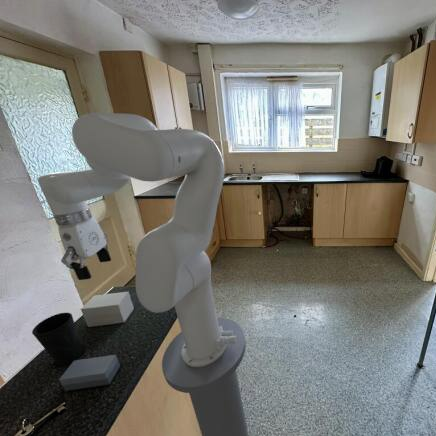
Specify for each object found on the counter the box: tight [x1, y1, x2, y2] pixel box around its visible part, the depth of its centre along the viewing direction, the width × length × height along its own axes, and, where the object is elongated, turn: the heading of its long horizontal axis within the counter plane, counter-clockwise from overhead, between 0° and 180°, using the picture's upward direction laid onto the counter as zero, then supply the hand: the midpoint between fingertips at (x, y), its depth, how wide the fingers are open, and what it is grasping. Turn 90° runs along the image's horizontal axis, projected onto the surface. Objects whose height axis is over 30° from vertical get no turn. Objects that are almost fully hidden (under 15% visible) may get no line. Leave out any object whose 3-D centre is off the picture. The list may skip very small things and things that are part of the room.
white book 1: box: [82, 298, 133, 322], centre depth 78 cm, size 11×6×2 cm, turn 98°
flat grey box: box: [80, 291, 131, 316], centre depth 77 cm, size 11×6×2 cm, turn 98°
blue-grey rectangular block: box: [61, 360, 121, 392], centre depth 60 cm, size 10×5×2 cm, turn 98°
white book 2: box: [85, 303, 135, 328], centre depth 79 cm, size 11×6×2 cm, turn 98°
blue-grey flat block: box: [58, 354, 119, 386], centre depth 59 cm, size 10×5×2 cm, turn 98°
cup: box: [31, 312, 84, 366], centre depth 64 cm, size 8×8×12 cm
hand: (96, 269), depth 72 cm, fingers open, 9 cm apart
